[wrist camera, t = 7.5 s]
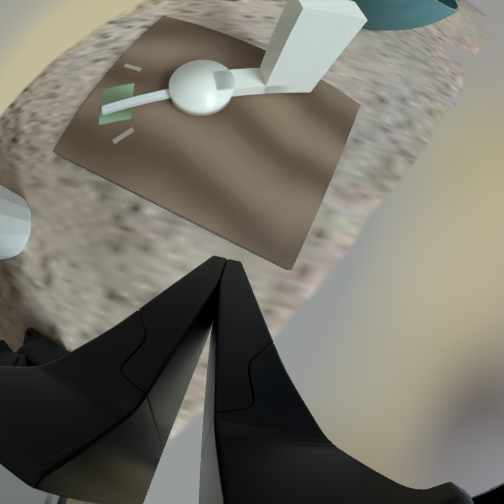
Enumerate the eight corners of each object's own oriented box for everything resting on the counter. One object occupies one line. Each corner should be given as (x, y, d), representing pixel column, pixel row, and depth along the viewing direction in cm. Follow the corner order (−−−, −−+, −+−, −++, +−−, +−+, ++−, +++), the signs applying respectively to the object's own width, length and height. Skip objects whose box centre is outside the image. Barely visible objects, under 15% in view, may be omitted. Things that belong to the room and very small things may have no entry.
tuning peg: (315, 106, 21) (377, 36, 11) (104, 139, 17) (50, 64, 7) (299, 63, 20) (345, -11, 11) (103, 89, 17) (66, 9, 7)
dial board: (286, 269, 21) (291, 270, 20) (59, 155, 18) (52, 150, 17) (354, 109, 23) (360, 104, 22) (164, 23, 19) (163, 15, 18)
